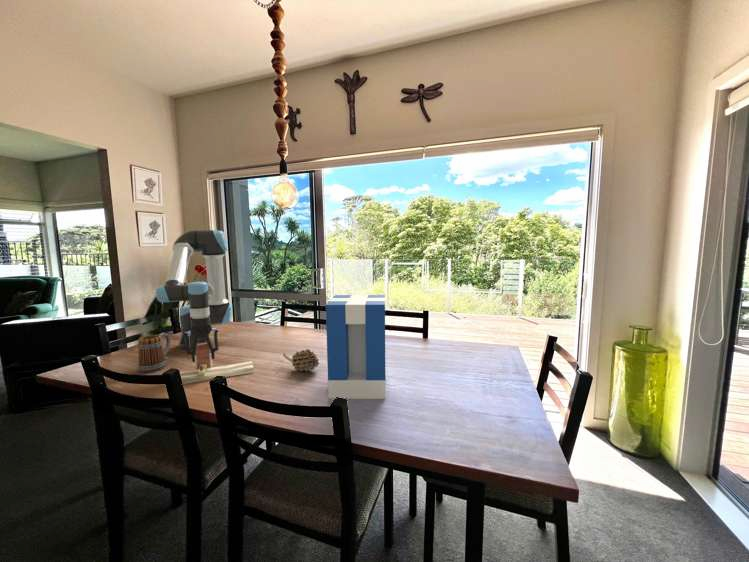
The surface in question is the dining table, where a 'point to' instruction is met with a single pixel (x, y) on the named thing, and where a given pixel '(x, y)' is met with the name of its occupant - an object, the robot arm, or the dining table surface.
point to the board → (217, 372)
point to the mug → (153, 352)
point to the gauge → (202, 358)
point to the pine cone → (303, 360)
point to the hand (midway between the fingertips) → (204, 367)
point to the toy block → (356, 346)
